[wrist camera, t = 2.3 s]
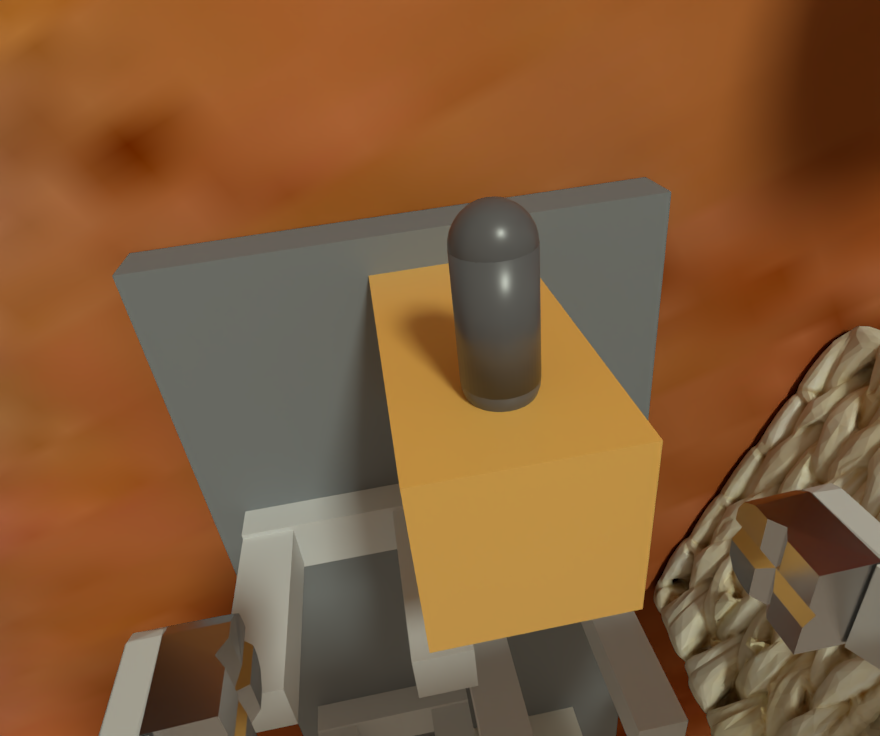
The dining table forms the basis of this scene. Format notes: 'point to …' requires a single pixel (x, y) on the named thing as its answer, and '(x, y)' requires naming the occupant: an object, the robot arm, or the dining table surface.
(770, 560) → the robot arm
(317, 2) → the dining table surface
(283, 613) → the board
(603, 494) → the plug
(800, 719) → the storage basket
